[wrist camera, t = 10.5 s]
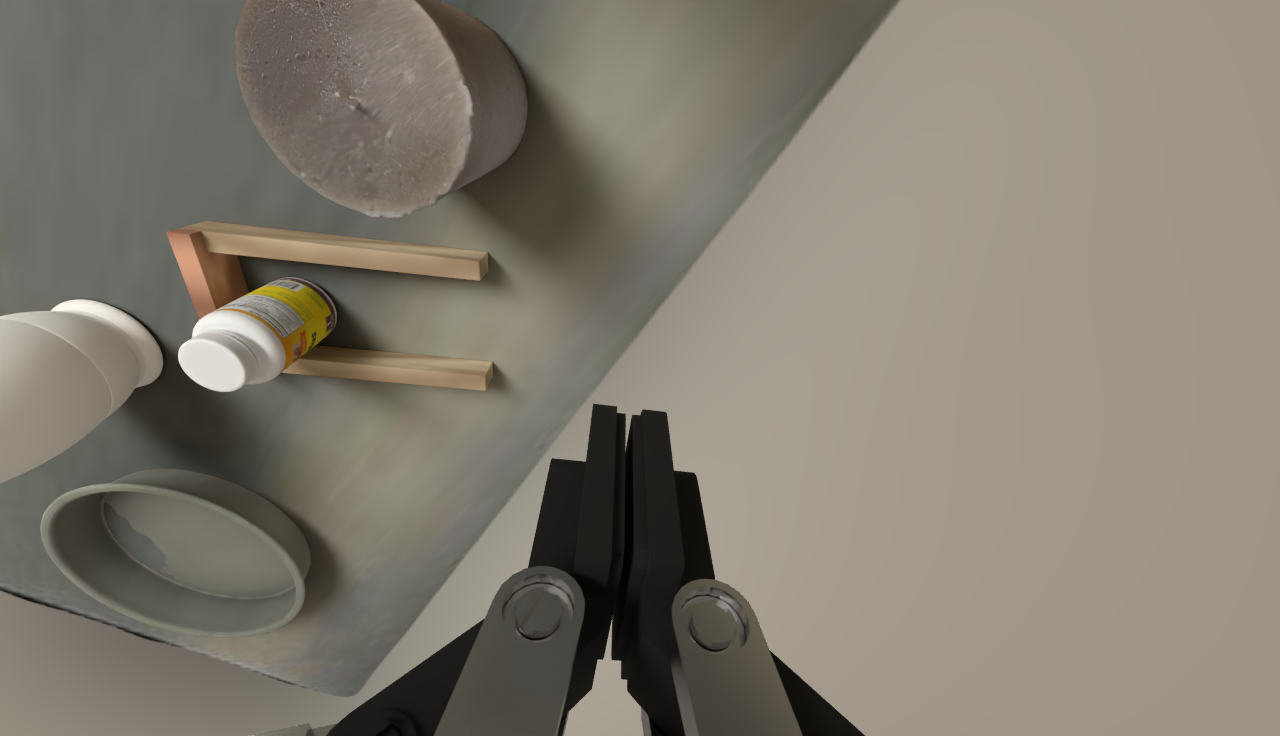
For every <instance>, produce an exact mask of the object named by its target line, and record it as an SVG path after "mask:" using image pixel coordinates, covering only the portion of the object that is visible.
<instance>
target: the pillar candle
mask: <svg viewBox="0 0 1280 736" xmlns="http://www.w3.org/2000/svg"><path fill="white" fill-rule="evenodd" d="M235 48H236V57H235V59H236V64H235V65H236V72H237V78H238V81H239V85H240V89H241V92H242V95H243V98H244V101H245V104H246V106H247V108H248V110H249V113H250V115H251V117H252V119H253V122H254V123H255V125H256V127H257V129H258V131H259V132H260V133H261V135H262V137H263V138H264V140H265V141H266V142H267V144H268V145H269V147H270V148H271V149H272V151H273V152H274V153H275V154H276V155H277V157H278V158H279V159H280V161H281V162H282V163H283V164H284V165H285V166H286V167H287V168H288V169H289V170H290V171H291V172H293V173H294V174H295V175H296V176H297V177H298V178H300V179H301V180H302V181H303V182H305V183H306V184H307V185H308V186H309V187H311V188H312V189H314V190H315V191H317V192H319V193H320V194H321V195H323V196H325V197H326V198H327V199H330V200H332V201H334V202H336V203H337V204H340V205H342V206H345V207H348V208H350V209H353V210H357V211H359V212H362V213H364V214H365V215H368V216H370V217H373V218H377V217H378V218H379V217H381V216H385V217H388V218H391V219H392V218H400V217H403V216H404V215H405V214H409V215H411V214H412V213H413V212H415V211H419V210H421V209H423V208H426V207H427V206H432V205H433V204H436V203H437V201H438V200H439V199H441V198H443V197H444V196H446V195H448V194H450V193H452V192H454V191H455V190H457V189H459V188H461V187H463V186H465V185H467V184H469V183H470V182H472V181H474V180H476V179H478V178H480V177H481V176H483V175H485V174H487V173H488V172H490V171H492V170H493V169H495V168H497V167H499V166H500V165H502V164H503V163H504V162H505V161H507V160H508V159H509V157H510V156H511V155H512V153H513V152H514V151H515V150H516V148H517V147H518V145H519V143H520V141H521V139H522V136H523V134H524V131H525V127H526V123H527V114H528V100H527V95H526V86H525V83H524V80H523V77H522V74H521V72H520V69H519V67H518V65H517V63H516V61H515V59H514V57H513V56H512V54H511V53H510V52H509V50H508V49H507V47H506V46H505V44H504V43H503V41H502V40H501V38H500V36H499V35H498V34H497V33H496V32H495V31H494V30H493V29H491V28H490V27H489V26H488V25H486V24H485V23H484V22H482V21H481V20H479V19H478V18H475V17H473V16H471V15H470V14H468V13H465V12H463V11H461V10H459V9H457V8H455V7H453V6H451V5H448V4H446V3H444V2H442V1H440V0H245V3H244V6H243V9H242V11H241V16H240V19H239V22H238V26H237V28H236V34H235Z"/></svg>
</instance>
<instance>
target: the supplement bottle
mask: <svg viewBox="0 0 1280 736" xmlns="http://www.w3.org/2000/svg"><path fill="white" fill-rule="evenodd" d="M336 321H337V312H336V308H335V306H334V303H333V302H332V300H331V299H330V297H329V296H328V295H327V294H326V293H325V292H324V291H323V290H322V289H321V288H320V287H318V286H317V285H315V284H313V283H311V282H309V281H307V280H304V279H300V278H294V277H286V278H280V279H277V280H275V281H273V282H270V283H269V284H267V285H265V286H263V287H261V288H259V289H257V290H255V291H253V292H250V293H248V294H246V295H244V296H242V297H241V298H239V299H236V300H234V301H232V302H230V303H228V304H227V305H225V306H223V307H221V308H219V309H217V310H215V311H213V312H211V313H209V314H207V315H206V316H204V317H203V318H201V319H200V320H199V321H198V322H197V324H196V325H195V327H194V329H193V334H192V339H190V340H189V341H187V342H185V343H184V344H183V345H182V346H181V347H180V349H179V352H178V359H179V363H180V365H181V367H182V369H183V370H184V372H185V373H186V374H187V375H188V376H189V377H190V378H191V379H192V380H193V381H195V382H196V383H198V384H199V385H201V386H203V387H205V388H208V389H211V390H214V391H219V392H231V391H235V390H237V389H239V388H241V387H242V386H244V385H245V384H259V383H264V382H267V381H269V380H271V379H273V378H274V377H276V376H277V375H279V374H280V373H282V372H283V371H284V370H285V369H286V368H288V367H289V366H290V365H291V364H293V363H294V362H295V361H297V360H298V359H299V358H300V357H301V356H303V355H304V354H305V353H306V352H308V351H309V350H310V349H311V348H313V347H314V346H315V345H316V344H318V343H319V342H320V341H321V340H323V339H324V338H325V337H326V336H328V335H329V334H330V333H331V332H332V330H333V329H334V327H335V325H336Z"/></svg>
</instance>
